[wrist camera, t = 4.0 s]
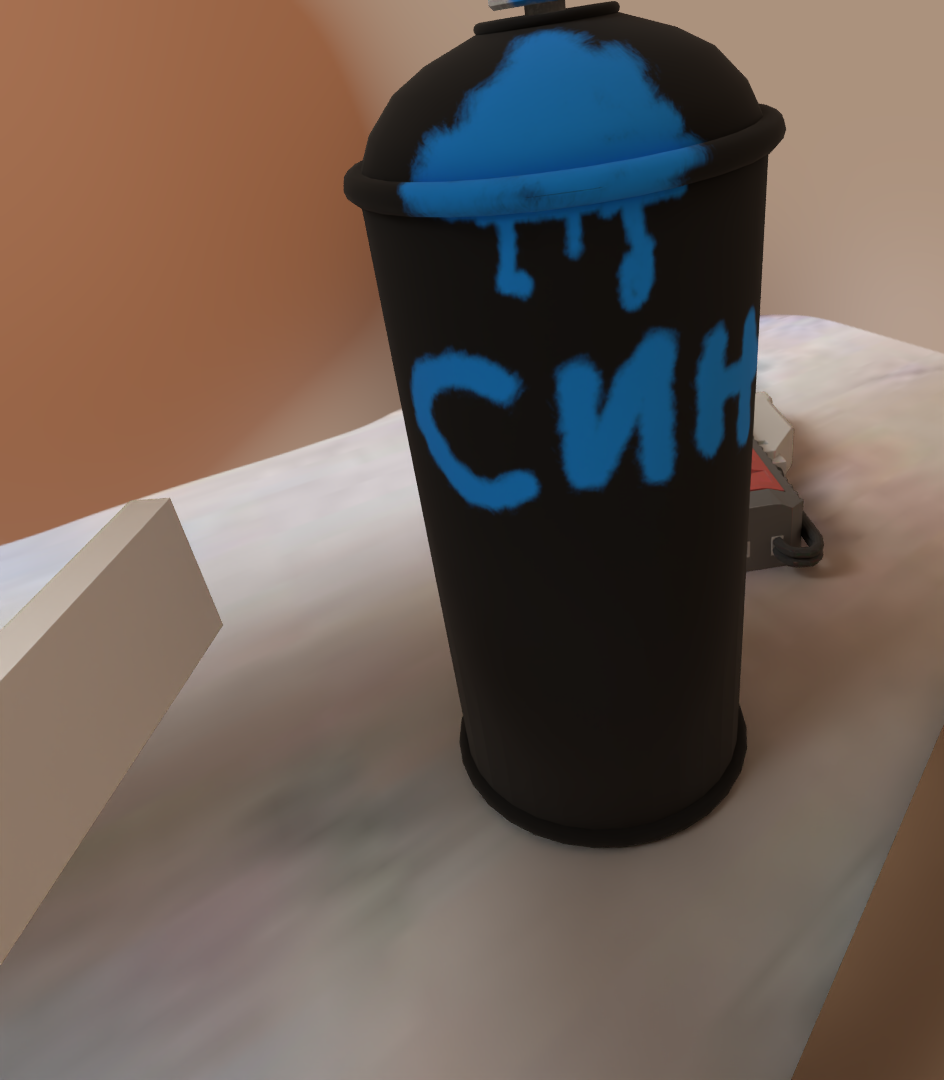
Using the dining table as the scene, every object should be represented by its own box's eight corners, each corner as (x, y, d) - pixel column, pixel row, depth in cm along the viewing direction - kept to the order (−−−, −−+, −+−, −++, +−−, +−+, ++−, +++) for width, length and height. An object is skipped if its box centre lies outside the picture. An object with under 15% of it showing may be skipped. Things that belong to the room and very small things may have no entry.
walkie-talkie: (882, 581, 28) (717, 375, 45) (896, 469, 26) (717, 297, 43) (631, 618, 29) (561, 401, 46) (622, 512, 27) (552, 325, 44)
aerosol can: (457, 656, 28) (315, -73, 17) (700, 625, 27) (714, -141, 16) (465, 870, 21) (232, -139, 10) (791, 831, 20) (917, -258, 10)
